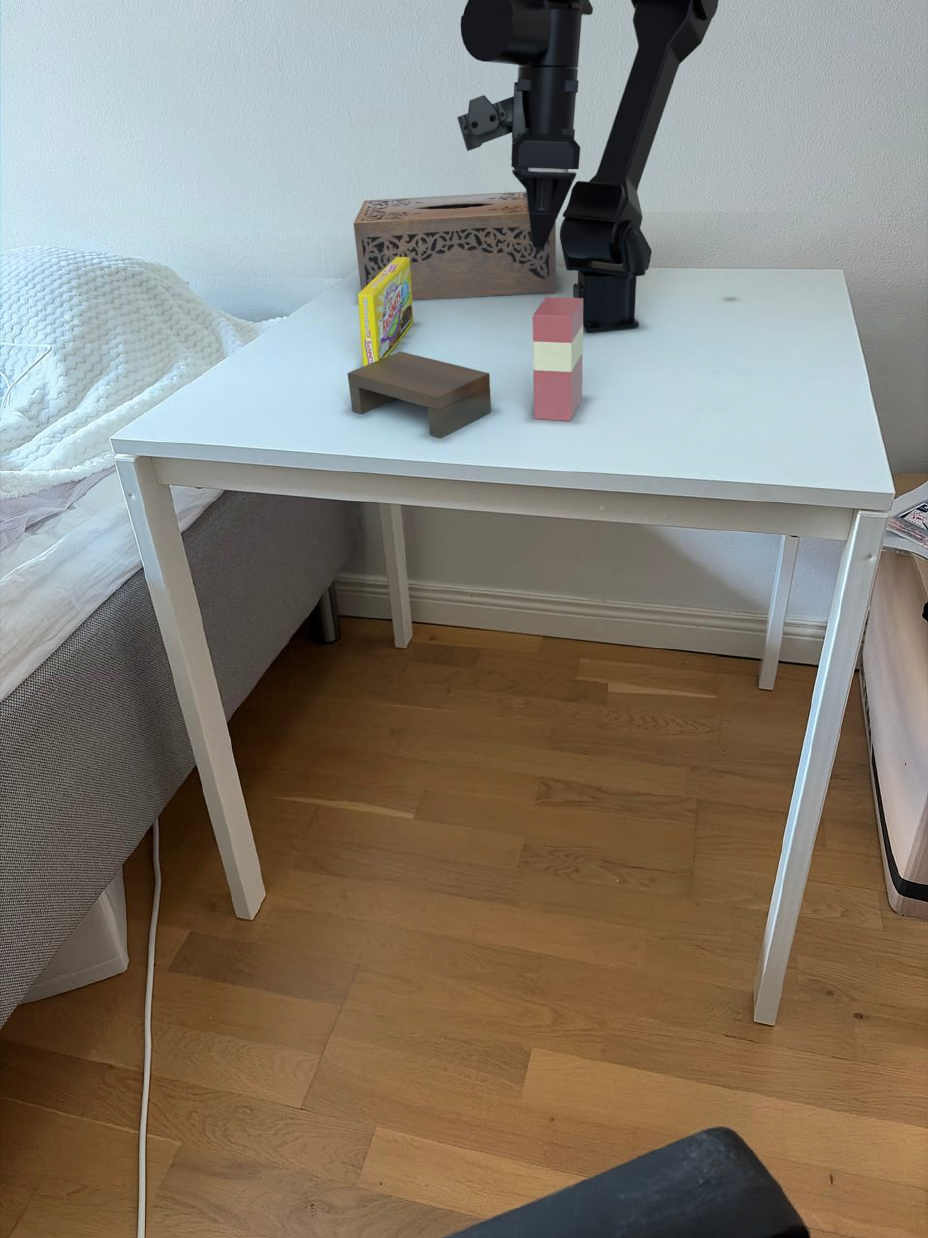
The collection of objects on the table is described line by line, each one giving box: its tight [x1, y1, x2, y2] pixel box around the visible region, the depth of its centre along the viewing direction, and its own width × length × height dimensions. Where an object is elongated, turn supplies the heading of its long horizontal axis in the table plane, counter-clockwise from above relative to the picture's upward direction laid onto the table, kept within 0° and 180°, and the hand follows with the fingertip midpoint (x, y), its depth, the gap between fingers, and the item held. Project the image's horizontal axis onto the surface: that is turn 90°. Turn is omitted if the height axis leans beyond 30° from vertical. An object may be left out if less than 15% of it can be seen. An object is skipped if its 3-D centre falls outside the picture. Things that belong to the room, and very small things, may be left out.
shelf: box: [347, 351, 492, 439], centre depth 94 cm, size 8×12×4 cm, turn 49°
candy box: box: [357, 257, 414, 367], centre depth 110 cm, size 16×2×8 cm, turn 168°
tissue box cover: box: [353, 190, 557, 301], centre depth 131 cm, size 26×14×10 cm, turn 89°
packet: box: [532, 296, 584, 422], centre depth 91 cm, size 6×4×10 cm, turn 163°
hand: (537, 241), depth 99 cm, fingers open, 9 cm apart
